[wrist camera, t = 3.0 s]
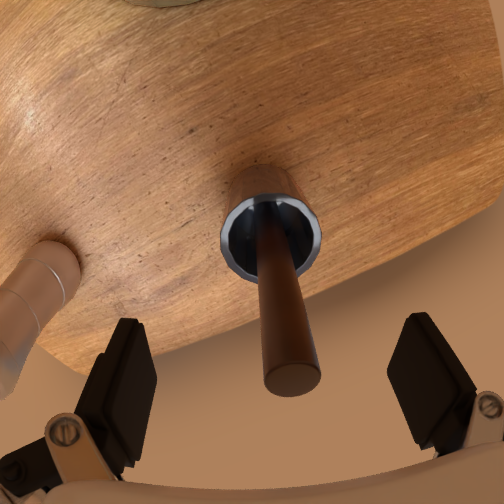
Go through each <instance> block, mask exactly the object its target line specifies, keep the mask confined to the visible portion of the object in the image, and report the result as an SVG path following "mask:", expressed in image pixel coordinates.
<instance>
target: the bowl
mask: <svg viewBox="0 0 504 504" xmlns="http://www.w3.org/2000/svg"><path fill="white" fill-rule="evenodd" d="M124 1H126V2H128V3H131V4H133V5H142V6H150V7H158V8H160V7H168V6H176V5H186V4H191V3H193V2H196V1H199V0H124Z"/></svg>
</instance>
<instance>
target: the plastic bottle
mask: <svg viewBox="0 0 504 504" xmlns="http://www.w3.org/2000/svg"><path fill="white" fill-rule="evenodd" d="M80 280H81V273H80V267H79V263H78V261H77V259H76V257H75V255H74V254H73V252H72V251H71V250H70V249H69V248H68V247H66V246H65V245H63V244H61V243H59V242H55V241H49V240H48V241H43V242H40V243H38V244H36V245H34V246H32V247H31V248H30V249H28V251H27V252H26V253H25V254H24V256H23V257H22V258H21V260H20V261H19V263H18V264H17V266H16V268H15V269H14V270H13V271H12V272H11V274H10V275H9V276H8V277H7V279H6V280H5V281H4V282H3V284H2V285H1V286H0V401H2V400H4V399H5V398H6V397H7V396H8V395H9V394H11V393H12V392H13V390H14V388H15V386H16V383H17V381H18V379H19V376H20V373H21V371H22V368H23V366H24V363H25V361H26V358H27V356H28V354H29V352H30V350H31V348H32V347H33V345H34V343H35V341H36V339H37V338H38V336H39V334H40V333H41V331H42V329H43V328H44V327H45V326H46V325H47V323H48V322H49V321H50V320H51V319H52V318H53V316H54V315H55V314H56V313H57V312H58V311H60V310H61V309H62V308H63V307H64V306H65V305H66V304H67V303H68V302H69V301H70V300H71V299H72V298H73V297H74V295H75V294H76V291H77V289H78V287H79V284H80Z"/></svg>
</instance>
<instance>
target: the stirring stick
mask: <svg viewBox="0 0 504 504" xmlns="http://www.w3.org/2000/svg"><path fill="white" fill-rule="evenodd" d="M253 211H254V227H255V243H256V259H257V275H258V291H259V308H260V323H261V324H260V325H261V341H262V358H263V375H264V385H265V387H266V388H267V389H268V390H269V391H270V392H271V393H273V394H275V395H277V396H281V397H295V396H300V395H303V394H306V393H308V392H310V391H311V390H313V389H314V388H315V387H316V386H317V385H318V383H319V382H320V379H321V371H320V366H319V363H318V358H317V354H316V349H315V346H314V341H313V337H312V333H311V329H310V325H309V321H308V317H307V313H306V309H305V305H304V302H303V297H302V294H301V290H300V286H299V282H298V278H297V274H296V271H295V267H294V263H293V259H292V256H291V252H290V248H289V245H288V241H287V237H286V234H285V230H284V227H283V223H282V220H281V216H280V212H279V209H278V205H277V203H276V202H273V201H264V202H261V203H259V204H256V205H254V206H253Z"/></svg>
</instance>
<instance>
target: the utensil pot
mask: <svg viewBox="0 0 504 504" xmlns="http://www.w3.org/2000/svg"><path fill="white" fill-rule="evenodd" d="M264 201H273V202H276V203H277V205H278V209H279V212H280V216H281V220H282V223H283V227H284V230H285V234H286V237H287V241H288V245H289V248H290V252H291V256H292V259H293V263H294V267H295V271H296V274H297V278H298V277H299V276H300V275H302V274H303V273H304V272H305V271H306V270H308V269H309V268H310V267H311V266H312V264H313V262H314V261H315V259H316V257H317V255H318V254H319V251H320V246H321V237H322V232H321V228H320V225H319V222H318V219H317V216H316V215H315V213H314V211H313V209H312V208H311V206H310V204H309V202H308V201H307V199H306V197H305V195H304V194H303V192H302V190H301V189H300V187H299V186H298V185H297V183H296V182H295V180H294V178H293V177H292V176H291V175H290V174H289V173H288V172H286V171H285V170H284V169H282V168H280V167H277V166H274V165H268V164H260V165H255V166H252V167H249V168H247V169H245V170H244V171H242V172H241V173H240V174H238V175H237V177H236V178H235V179H234V180H233V182H232V184H231V186H230V188H229V192H228V197H227V199H226V204H225V209H224V214H223V220H222V225H221V230H220V250H221V252H222V255H223V257H224V259H225V261H226V263H227V265H228V266H229V268H231V269H232V270H233V271H234V272H235V273H236V274H238V275H239V276H240V277H241V278H243V279H245V280H248V281H250V282H253V283H256V284H258V275H257V259H256V243H255V227H254V211H253V206H254V205H256V204H259V203H261V202H264Z"/></svg>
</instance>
